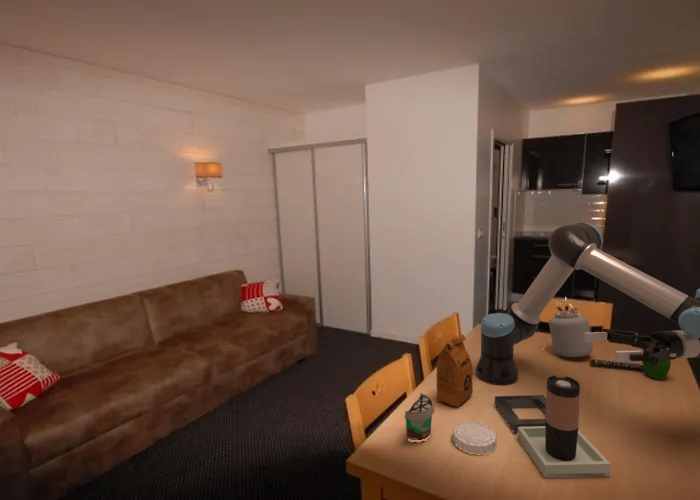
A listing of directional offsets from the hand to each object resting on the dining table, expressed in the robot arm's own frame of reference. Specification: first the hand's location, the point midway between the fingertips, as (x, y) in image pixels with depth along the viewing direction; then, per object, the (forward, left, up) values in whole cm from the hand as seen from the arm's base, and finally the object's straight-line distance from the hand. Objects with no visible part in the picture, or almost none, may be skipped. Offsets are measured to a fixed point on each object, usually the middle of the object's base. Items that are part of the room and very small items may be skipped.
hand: (599, 346), depth 110 cm
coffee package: (-40, -6, -26) cm, 49 cm away
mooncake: (-26, -25, -27) cm, 45 cm away
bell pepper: (+14, +51, -26) cm, 59 cm away
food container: (-39, -31, -26) cm, 56 cm away
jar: (-16, +56, -26) cm, 64 cm away
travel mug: (-6, -17, -25) cm, 31 cm away
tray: (-6, -17, -26) cm, 32 cm away
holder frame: (-17, -3, -26) cm, 31 cm away
